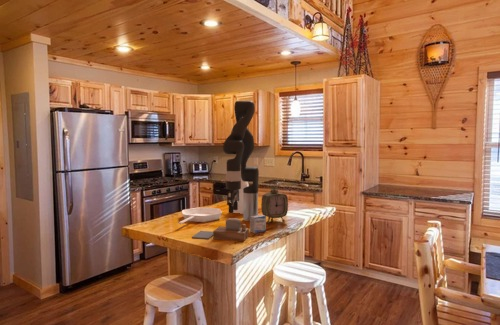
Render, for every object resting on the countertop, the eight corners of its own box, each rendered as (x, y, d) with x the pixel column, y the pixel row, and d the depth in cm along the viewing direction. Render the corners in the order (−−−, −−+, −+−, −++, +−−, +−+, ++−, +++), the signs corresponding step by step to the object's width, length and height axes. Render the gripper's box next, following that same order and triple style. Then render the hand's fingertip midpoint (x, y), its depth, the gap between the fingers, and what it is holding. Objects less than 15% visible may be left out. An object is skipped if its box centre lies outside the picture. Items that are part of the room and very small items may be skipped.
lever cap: (227, 228, 173) (227, 217, 173) (240, 229, 171) (240, 218, 171) (225, 230, 169) (225, 218, 169) (239, 231, 168) (239, 219, 168)
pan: (228, 215, 222) (228, 208, 222) (202, 231, 183) (202, 223, 183) (191, 212, 230) (191, 206, 230) (158, 227, 191) (158, 219, 190)
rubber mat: (200, 231, 181) (200, 230, 181) (216, 232, 179) (216, 231, 179) (191, 238, 169) (191, 236, 169) (208, 239, 167) (208, 238, 167)
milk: (249, 210, 238) (249, 174, 236) (248, 214, 226) (248, 175, 225) (233, 210, 239) (233, 174, 237) (230, 213, 228) (230, 175, 226)
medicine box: (254, 233, 178) (254, 217, 177) (249, 231, 182) (249, 216, 181) (266, 231, 183) (266, 215, 182) (261, 229, 186) (261, 214, 186)
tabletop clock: (267, 224, 197) (267, 182, 196) (259, 221, 205) (260, 181, 204) (287, 222, 204) (288, 181, 202) (279, 219, 212) (280, 179, 210)
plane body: (219, 233, 178) (219, 220, 177) (248, 235, 174) (248, 222, 174) (213, 239, 168) (213, 225, 167) (244, 241, 164) (244, 227, 164)
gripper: (230, 178, 177) (230, 208, 177) (222, 181, 163) (221, 214, 164) (244, 178, 175) (243, 209, 176) (237, 181, 161) (236, 214, 162)
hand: (233, 211), depth 170 cm, fingers open, 8 cm apart
